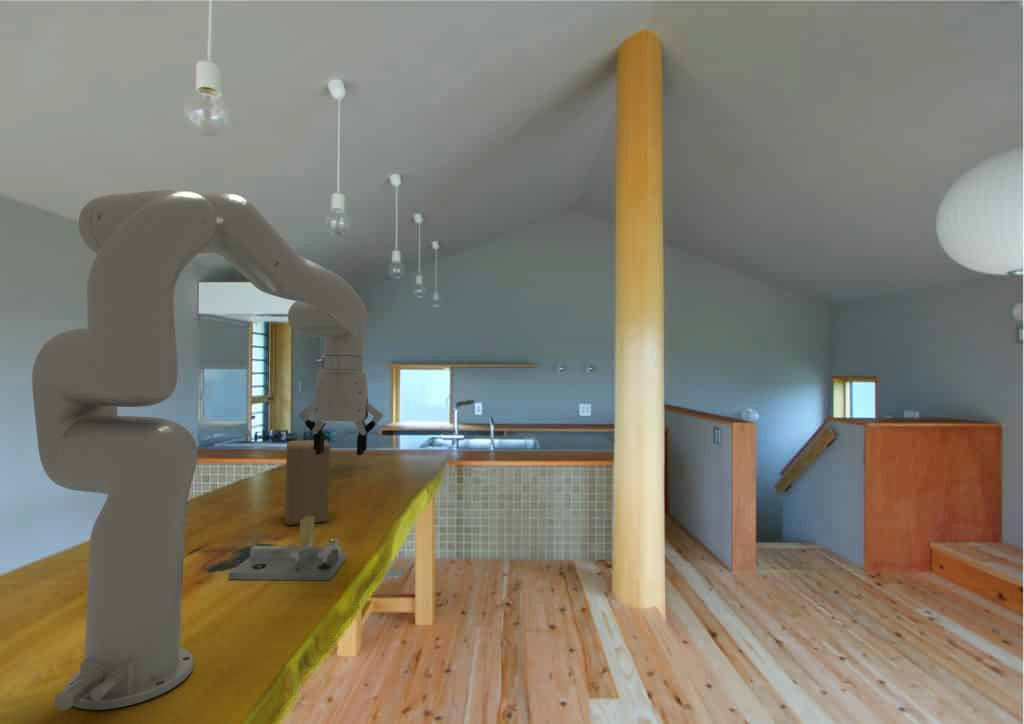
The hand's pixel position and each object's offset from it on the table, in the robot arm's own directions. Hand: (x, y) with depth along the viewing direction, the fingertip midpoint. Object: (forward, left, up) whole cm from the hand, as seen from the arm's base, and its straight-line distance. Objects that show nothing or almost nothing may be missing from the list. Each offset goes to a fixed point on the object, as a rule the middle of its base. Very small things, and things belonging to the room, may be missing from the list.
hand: (340, 453), depth 108 cm
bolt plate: (-3, +8, -22) cm, 23 cm away
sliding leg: (-3, +6, -20) cm, 21 cm away
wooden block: (+33, +17, -22) cm, 44 cm away
